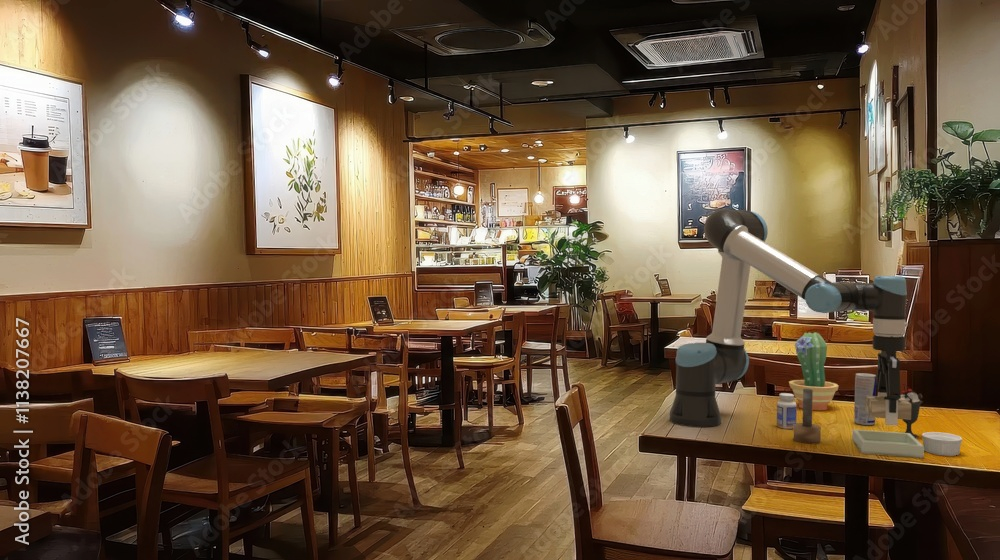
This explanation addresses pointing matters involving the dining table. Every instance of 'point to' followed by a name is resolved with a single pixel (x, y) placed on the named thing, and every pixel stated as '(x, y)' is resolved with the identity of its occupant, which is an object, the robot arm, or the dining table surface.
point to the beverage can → (863, 397)
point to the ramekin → (941, 443)
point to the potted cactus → (813, 371)
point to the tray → (888, 443)
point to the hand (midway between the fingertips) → (887, 420)
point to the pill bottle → (786, 411)
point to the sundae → (912, 408)
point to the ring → (878, 406)
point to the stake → (807, 422)
